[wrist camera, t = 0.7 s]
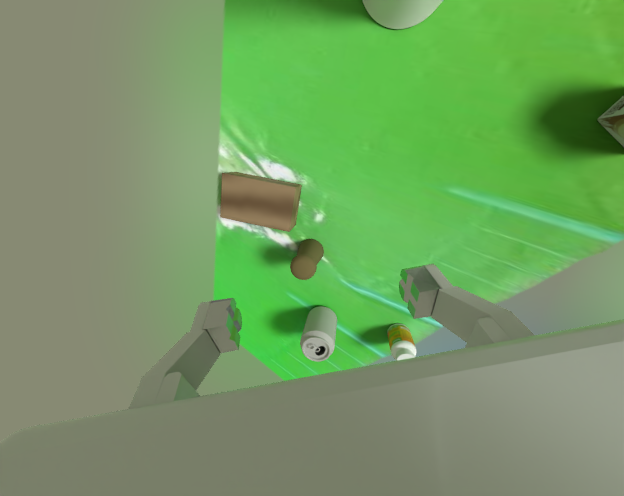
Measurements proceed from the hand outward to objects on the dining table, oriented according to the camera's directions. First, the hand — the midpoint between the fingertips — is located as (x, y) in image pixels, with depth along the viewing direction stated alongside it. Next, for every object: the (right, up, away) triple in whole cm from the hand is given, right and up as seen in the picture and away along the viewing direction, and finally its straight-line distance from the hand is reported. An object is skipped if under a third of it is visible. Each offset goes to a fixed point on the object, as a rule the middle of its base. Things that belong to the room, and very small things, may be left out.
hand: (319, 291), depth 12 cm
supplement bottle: (+21, -19, +49) cm, 57 cm away
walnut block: (-11, +13, +43) cm, 46 cm away
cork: (-1, +1, +46) cm, 46 cm away
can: (+2, -16, +51) cm, 54 cm away
